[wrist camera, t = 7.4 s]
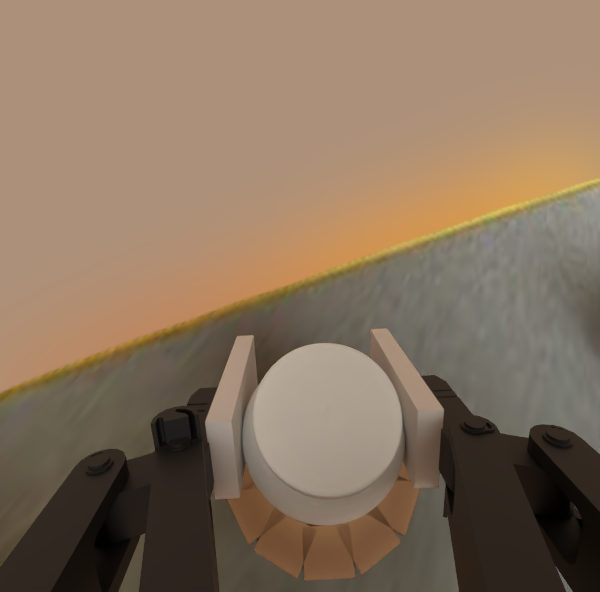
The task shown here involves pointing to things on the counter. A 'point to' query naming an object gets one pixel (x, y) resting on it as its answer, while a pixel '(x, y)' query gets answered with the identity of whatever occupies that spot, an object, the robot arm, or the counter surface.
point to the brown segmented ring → (325, 533)
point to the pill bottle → (324, 434)
